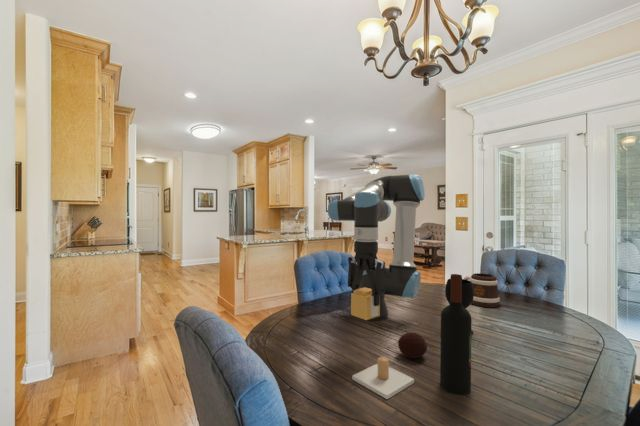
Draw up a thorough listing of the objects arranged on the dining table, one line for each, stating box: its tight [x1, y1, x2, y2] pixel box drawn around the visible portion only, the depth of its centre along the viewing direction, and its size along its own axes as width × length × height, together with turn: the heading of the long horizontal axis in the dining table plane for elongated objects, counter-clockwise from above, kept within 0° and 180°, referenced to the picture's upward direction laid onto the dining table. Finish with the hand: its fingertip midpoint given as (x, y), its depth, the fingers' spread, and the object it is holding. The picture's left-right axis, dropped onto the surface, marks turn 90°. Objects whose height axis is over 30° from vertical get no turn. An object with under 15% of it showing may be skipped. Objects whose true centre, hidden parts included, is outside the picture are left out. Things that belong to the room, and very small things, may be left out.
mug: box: [463, 273, 501, 309], centre depth 162 cm, size 20×15×15 cm
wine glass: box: [444, 278, 474, 336], centre depth 122 cm, size 10×10×20 cm
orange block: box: [350, 287, 380, 321], centre depth 98 cm, size 6×6×8 cm
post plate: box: [351, 356, 415, 400], centre depth 85 cm, size 12×12×6 cm
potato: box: [397, 332, 428, 359], centre depth 99 cm, size 8×9×8 cm
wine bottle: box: [439, 273, 472, 396], centre depth 82 cm, size 8×8×30 cm
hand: (365, 312), depth 98 cm, fingers closed on orange block, 6 cm apart
